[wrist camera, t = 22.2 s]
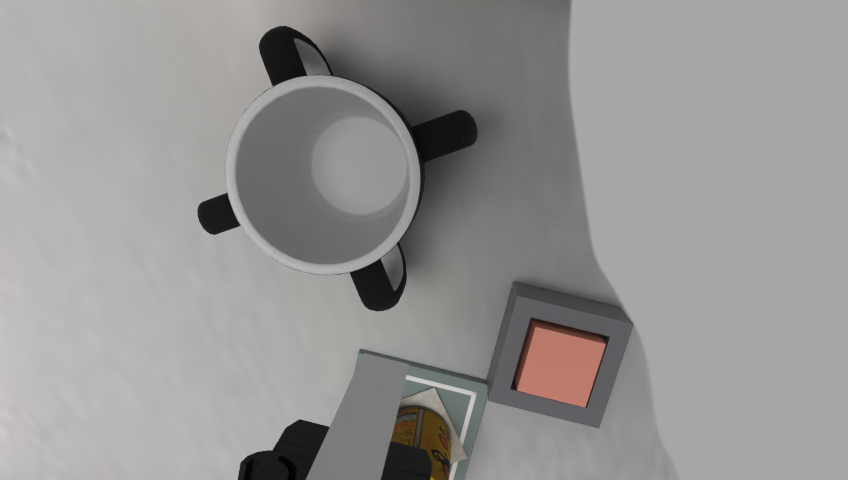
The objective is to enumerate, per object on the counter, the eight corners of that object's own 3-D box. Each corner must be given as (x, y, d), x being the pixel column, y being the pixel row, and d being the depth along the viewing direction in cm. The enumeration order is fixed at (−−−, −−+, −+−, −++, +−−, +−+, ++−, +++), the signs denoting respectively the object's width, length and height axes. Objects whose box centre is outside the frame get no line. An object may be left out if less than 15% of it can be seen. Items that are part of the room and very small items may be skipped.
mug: (230, 195, 46) (148, 217, 35) (322, 22, 43) (265, -18, 31) (394, 297, 47) (368, 353, 35) (498, 134, 43) (508, 136, 32)
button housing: (513, 281, 46) (517, 295, 42) (619, 307, 46) (633, 324, 42) (486, 378, 48) (488, 400, 44) (588, 403, 47) (598, 428, 44)
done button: (531, 313, 44) (535, 326, 41) (596, 329, 44) (605, 343, 41) (513, 373, 46) (517, 390, 43) (577, 389, 45) (585, 407, 42)
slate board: (360, 349, 48) (358, 353, 47) (489, 381, 48) (489, 385, 47) (333, 472, 51) (331, 478, 50) (455, 503, 50) (455, 510, 50)
